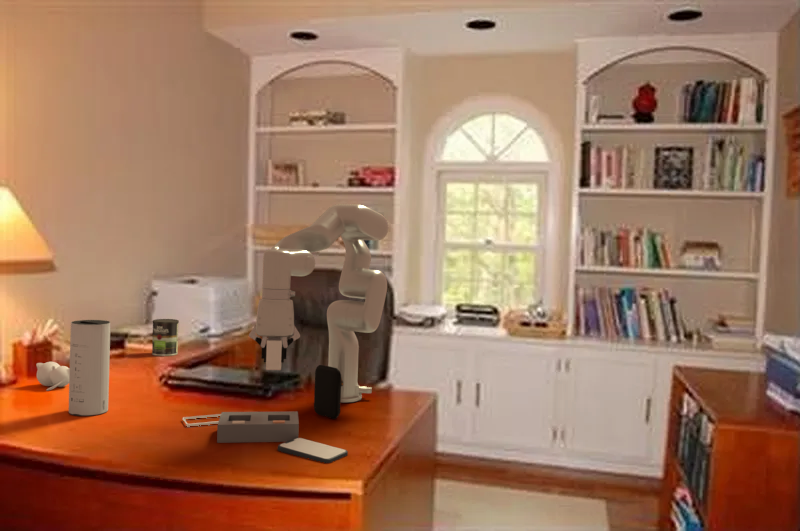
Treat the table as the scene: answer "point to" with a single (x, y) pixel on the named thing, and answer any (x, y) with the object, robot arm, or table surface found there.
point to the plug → (273, 353)
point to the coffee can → (165, 337)
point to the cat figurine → (52, 374)
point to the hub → (257, 427)
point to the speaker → (89, 367)
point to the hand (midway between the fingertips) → (273, 360)
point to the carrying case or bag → (327, 391)
